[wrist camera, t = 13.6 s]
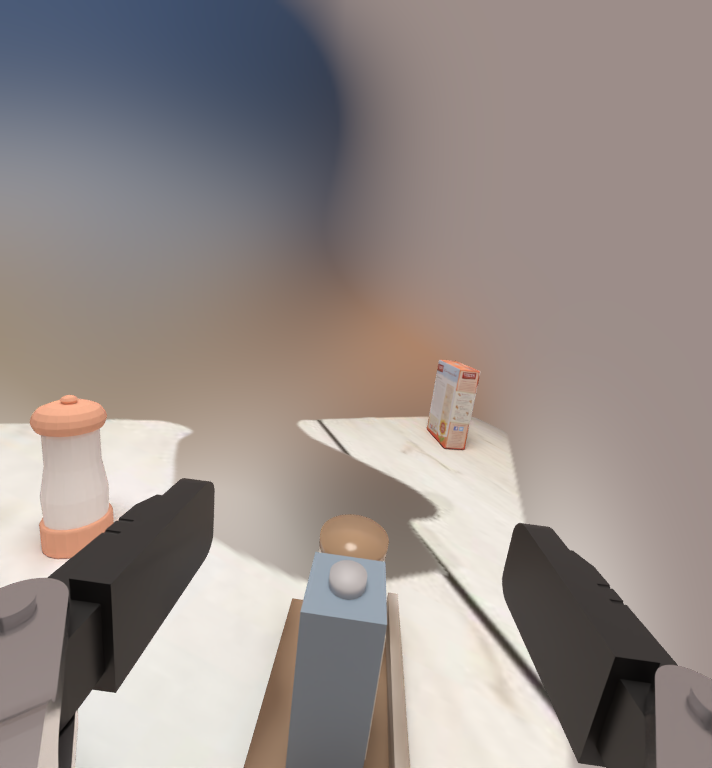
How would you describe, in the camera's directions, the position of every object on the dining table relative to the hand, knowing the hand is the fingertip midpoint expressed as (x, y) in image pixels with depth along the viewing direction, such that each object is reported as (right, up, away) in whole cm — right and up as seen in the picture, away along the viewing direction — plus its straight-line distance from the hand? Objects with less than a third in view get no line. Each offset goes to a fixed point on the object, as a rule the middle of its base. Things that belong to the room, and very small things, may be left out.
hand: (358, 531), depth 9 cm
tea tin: (-2, -23, +16) cm, 28 cm away
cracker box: (+24, -11, +86) cm, 91 cm away
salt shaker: (-36, -16, +36) cm, 53 cm away
